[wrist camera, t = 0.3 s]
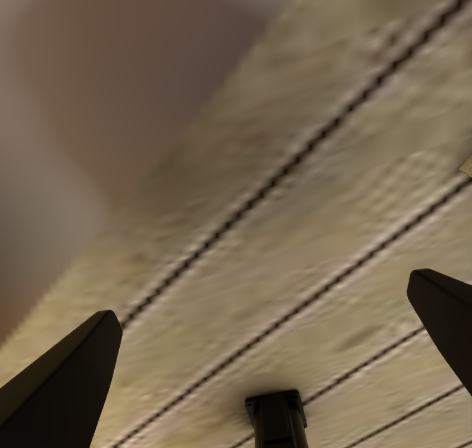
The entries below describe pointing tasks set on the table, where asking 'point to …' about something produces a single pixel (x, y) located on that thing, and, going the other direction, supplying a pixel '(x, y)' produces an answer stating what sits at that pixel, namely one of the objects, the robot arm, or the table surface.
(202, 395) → the table surface
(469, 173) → the pine crate
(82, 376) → the robot arm
